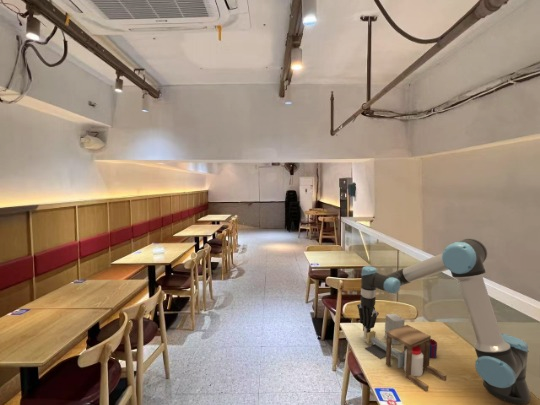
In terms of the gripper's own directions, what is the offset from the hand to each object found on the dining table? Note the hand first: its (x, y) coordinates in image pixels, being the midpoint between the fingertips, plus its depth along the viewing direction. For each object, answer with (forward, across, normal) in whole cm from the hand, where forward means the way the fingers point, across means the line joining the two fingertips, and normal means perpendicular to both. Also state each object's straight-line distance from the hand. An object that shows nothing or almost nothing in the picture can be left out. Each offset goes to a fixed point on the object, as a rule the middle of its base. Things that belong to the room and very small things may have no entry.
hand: (366, 338), depth 159 cm
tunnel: (+2, -28, 0) cm, 29 cm away
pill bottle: (+2, -28, 0) cm, 28 cm away
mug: (+2, -22, -17) cm, 28 cm away
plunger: (+1, -13, 0) cm, 13 cm away
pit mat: (+2, -10, 0) cm, 10 cm away
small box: (+2, -6, -14) cm, 16 cm away
